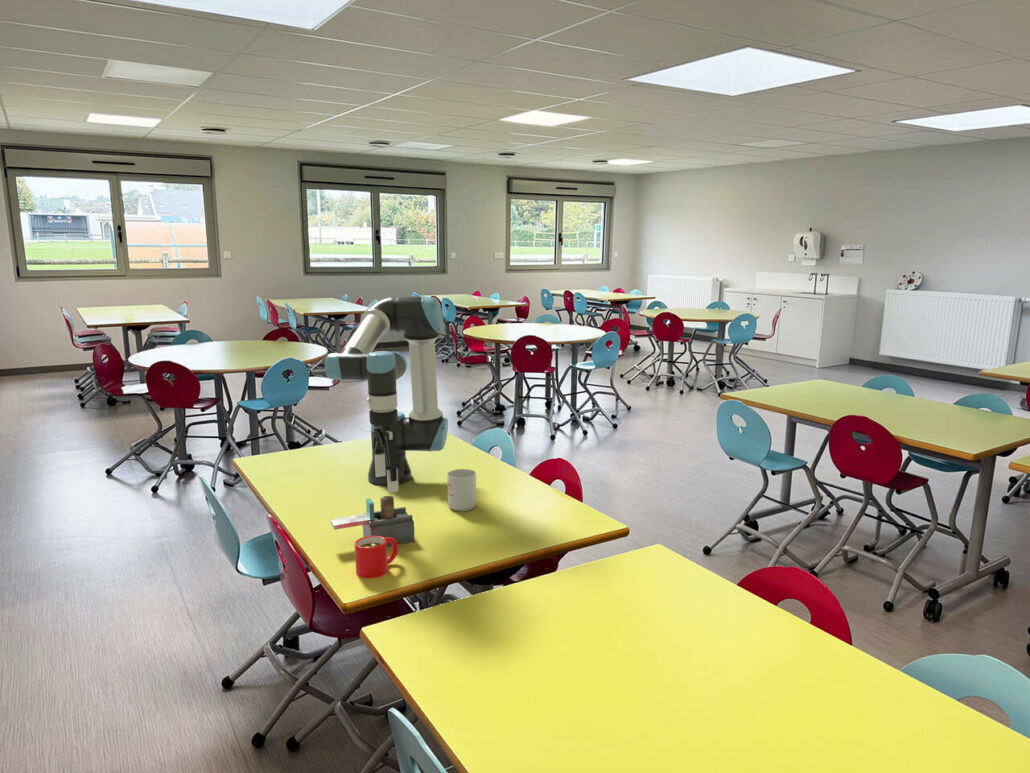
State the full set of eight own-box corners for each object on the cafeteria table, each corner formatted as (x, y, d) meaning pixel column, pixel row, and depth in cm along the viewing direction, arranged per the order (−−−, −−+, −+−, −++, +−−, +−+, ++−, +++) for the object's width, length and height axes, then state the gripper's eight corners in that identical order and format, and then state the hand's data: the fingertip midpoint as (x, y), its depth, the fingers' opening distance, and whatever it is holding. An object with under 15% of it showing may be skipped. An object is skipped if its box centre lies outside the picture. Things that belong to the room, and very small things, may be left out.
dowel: (380, 537, 197) (379, 497, 194) (393, 535, 198) (391, 495, 196) (384, 542, 193) (382, 501, 191) (396, 540, 195) (395, 499, 193)
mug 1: (407, 565, 180) (406, 536, 178) (368, 581, 171) (367, 551, 169) (388, 556, 185) (387, 528, 183) (349, 571, 176) (348, 542, 175)
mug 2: (481, 508, 219) (481, 474, 217) (457, 514, 214) (457, 479, 212) (461, 497, 228) (460, 464, 226) (437, 503, 223) (436, 470, 221)
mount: (363, 536, 198) (362, 511, 196) (404, 528, 203) (403, 505, 201) (371, 549, 189) (370, 524, 188) (414, 541, 194) (413, 517, 192)
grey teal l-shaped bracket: (330, 523, 191) (329, 504, 189) (370, 517, 195) (369, 498, 194) (334, 529, 186) (332, 509, 185) (374, 523, 191) (374, 503, 190)
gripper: (359, 400, 198) (363, 472, 203) (381, 421, 176) (384, 500, 181) (385, 398, 201) (388, 468, 206) (409, 418, 179) (412, 496, 184)
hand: (386, 483), depth 193 cm, fingers open, 13 cm apart
